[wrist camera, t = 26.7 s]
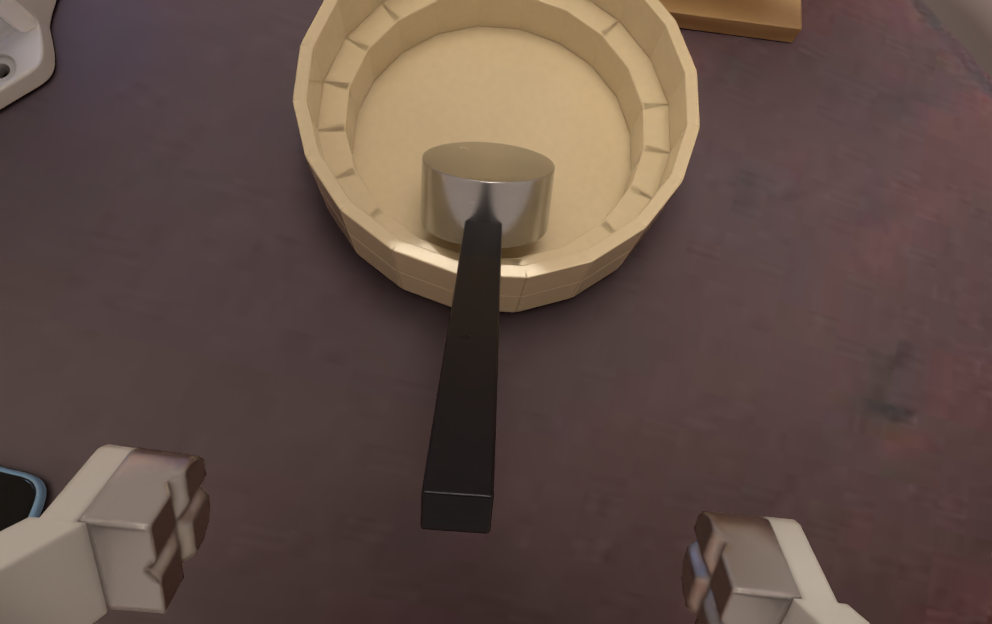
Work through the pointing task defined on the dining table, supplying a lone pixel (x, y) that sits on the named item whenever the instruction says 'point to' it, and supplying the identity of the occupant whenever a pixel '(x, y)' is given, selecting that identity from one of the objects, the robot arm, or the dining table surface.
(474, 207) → the black handled spatula
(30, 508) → the smartphone
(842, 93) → the dining table surface
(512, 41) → the bowl
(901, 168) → the dining table surface
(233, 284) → the dining table surface
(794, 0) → the wooden column stand
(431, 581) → the dining table surface
